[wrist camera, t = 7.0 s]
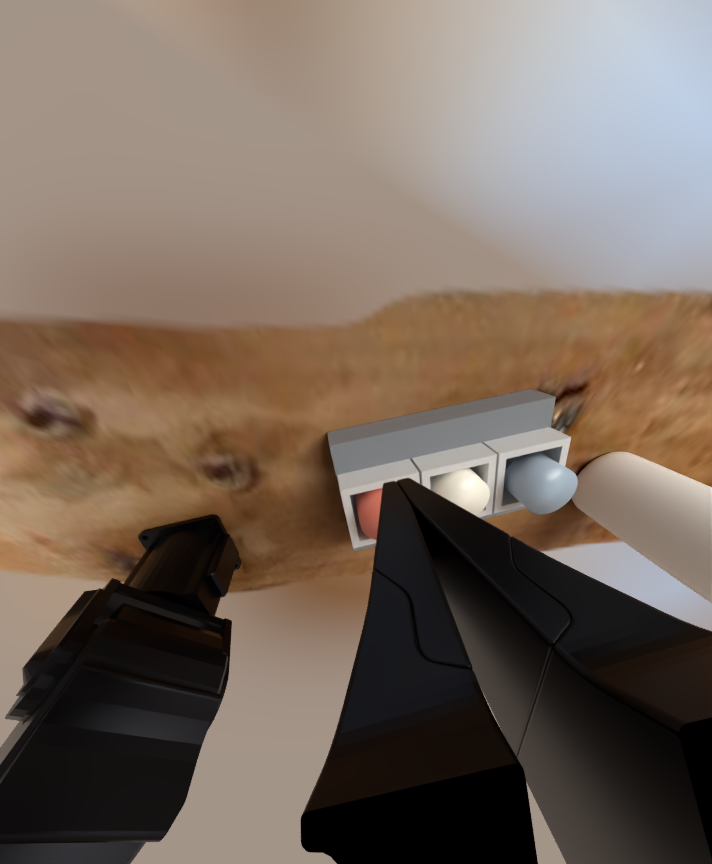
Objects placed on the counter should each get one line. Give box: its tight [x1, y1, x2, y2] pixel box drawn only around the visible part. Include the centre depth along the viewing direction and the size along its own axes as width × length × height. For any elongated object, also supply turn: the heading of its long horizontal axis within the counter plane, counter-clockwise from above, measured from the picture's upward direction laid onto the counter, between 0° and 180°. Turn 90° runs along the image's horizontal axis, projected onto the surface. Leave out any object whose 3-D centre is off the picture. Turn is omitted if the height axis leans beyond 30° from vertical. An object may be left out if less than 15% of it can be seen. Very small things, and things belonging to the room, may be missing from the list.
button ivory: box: [430, 468, 490, 515], centre depth 21 cm, size 4×4×2 cm
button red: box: [355, 488, 382, 540], centre depth 20 cm, size 4×4×2 cm
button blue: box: [504, 452, 578, 515], centre depth 20 cm, size 4×4×2 cm
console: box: [327, 389, 571, 551], centre depth 22 cm, size 18×11×4 cm, turn 99°
